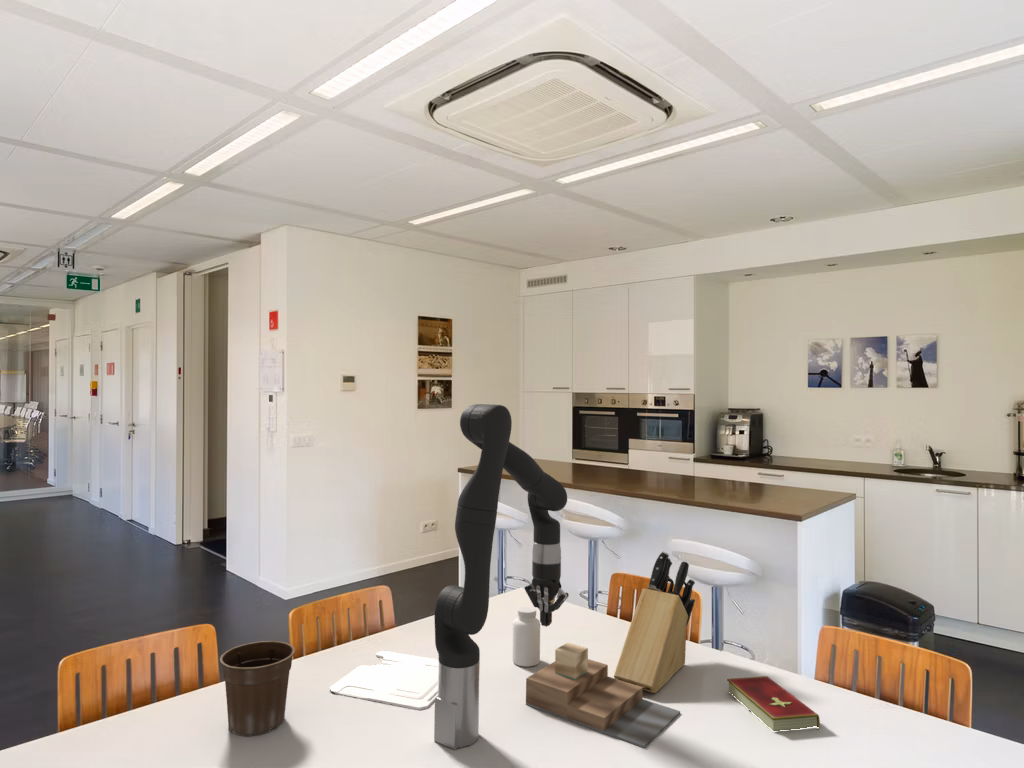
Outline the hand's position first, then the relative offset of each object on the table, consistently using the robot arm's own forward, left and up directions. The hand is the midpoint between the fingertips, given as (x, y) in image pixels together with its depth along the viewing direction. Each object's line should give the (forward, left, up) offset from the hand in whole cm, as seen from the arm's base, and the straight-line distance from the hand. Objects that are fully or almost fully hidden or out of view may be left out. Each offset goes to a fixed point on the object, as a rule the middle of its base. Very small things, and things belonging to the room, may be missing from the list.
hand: (545, 625), depth 171 cm
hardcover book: (+26, -50, -17) cm, 59 cm away
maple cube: (0, -8, -10) cm, 13 cm away
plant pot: (-56, +43, -17) cm, 73 cm away
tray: (-19, +34, -18) cm, 43 cm away
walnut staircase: (0, -17, -17) cm, 24 cm away
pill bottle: (+11, +14, -17) cm, 25 cm away
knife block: (+30, -18, -17) cm, 39 cm away
